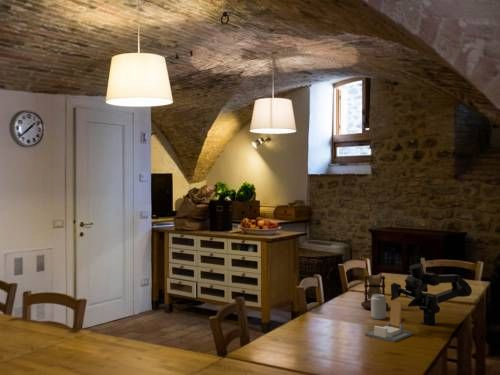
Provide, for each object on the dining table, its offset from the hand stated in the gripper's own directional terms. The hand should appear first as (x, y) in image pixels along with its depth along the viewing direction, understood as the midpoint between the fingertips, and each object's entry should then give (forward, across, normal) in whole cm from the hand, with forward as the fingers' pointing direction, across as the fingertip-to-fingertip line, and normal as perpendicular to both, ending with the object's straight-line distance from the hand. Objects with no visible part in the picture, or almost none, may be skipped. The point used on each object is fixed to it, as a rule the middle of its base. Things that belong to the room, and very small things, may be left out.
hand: (399, 302), depth 255 cm
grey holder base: (+12, +1, +11) cm, 16 cm away
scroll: (-24, -31, +29) cm, 49 cm away
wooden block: (+6, +1, +9) cm, 11 cm away
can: (-9, -18, +22) cm, 30 cm away
